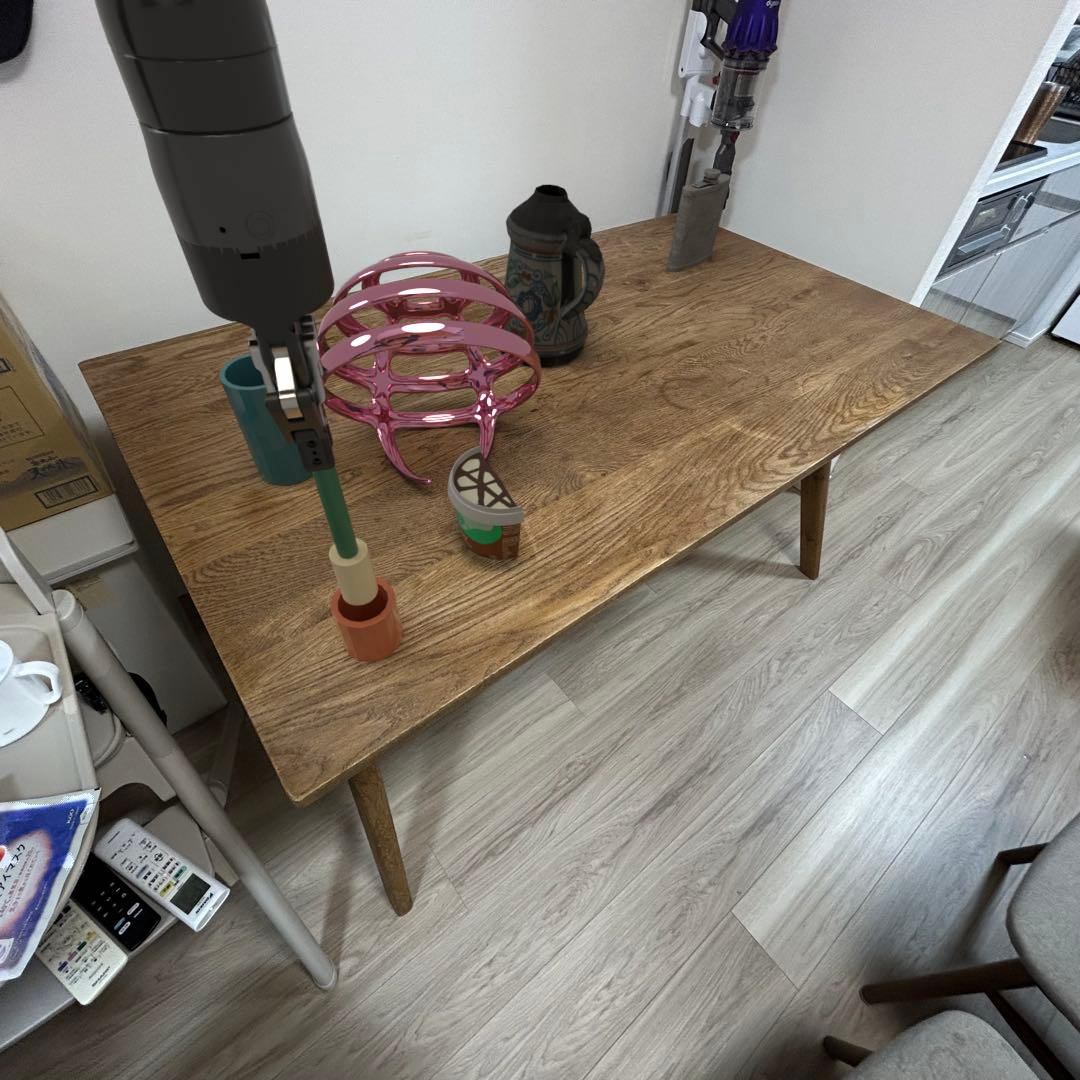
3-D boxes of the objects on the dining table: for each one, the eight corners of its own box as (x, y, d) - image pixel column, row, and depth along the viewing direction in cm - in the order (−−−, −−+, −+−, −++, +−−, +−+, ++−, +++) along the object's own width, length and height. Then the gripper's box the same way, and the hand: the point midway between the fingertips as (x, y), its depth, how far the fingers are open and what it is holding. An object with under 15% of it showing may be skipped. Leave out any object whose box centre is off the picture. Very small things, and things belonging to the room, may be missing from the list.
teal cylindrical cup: (258, 490, 79) (217, 393, 68) (259, 451, 84) (221, 356, 73) (321, 480, 81) (291, 384, 69) (318, 443, 86) (290, 348, 74)
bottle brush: (343, 609, 57) (278, 420, 40) (340, 581, 59) (277, 391, 42) (380, 601, 57) (330, 413, 41) (376, 574, 60) (327, 385, 43)
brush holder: (347, 670, 62) (332, 633, 57) (342, 622, 66) (328, 583, 61) (407, 656, 63) (398, 619, 58) (399, 610, 67) (390, 571, 62)
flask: (716, 256, 134) (740, 165, 120) (677, 274, 127) (697, 180, 113) (703, 251, 135) (725, 160, 122) (664, 268, 129) (682, 174, 115)
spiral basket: (534, 426, 59) (501, 173, 62) (272, 471, 63) (254, 231, 66) (566, 482, 86) (542, 305, 90) (383, 511, 90) (366, 340, 93)
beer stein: (514, 312, 113) (516, 162, 94) (613, 335, 109) (635, 183, 90) (478, 356, 102) (472, 196, 84) (585, 382, 99) (604, 221, 80)
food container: (437, 516, 77) (430, 456, 70) (481, 501, 79) (479, 442, 72) (475, 584, 70) (471, 526, 62) (522, 567, 72) (524, 508, 65)
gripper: (183, 173, 36) (267, 411, 49) (156, 275, 27) (268, 531, 40) (312, 167, 38) (361, 399, 51) (326, 261, 29) (381, 511, 42)
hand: (319, 456), depth 45 cm, fingers closed on bottle brush, 2 cm apart
